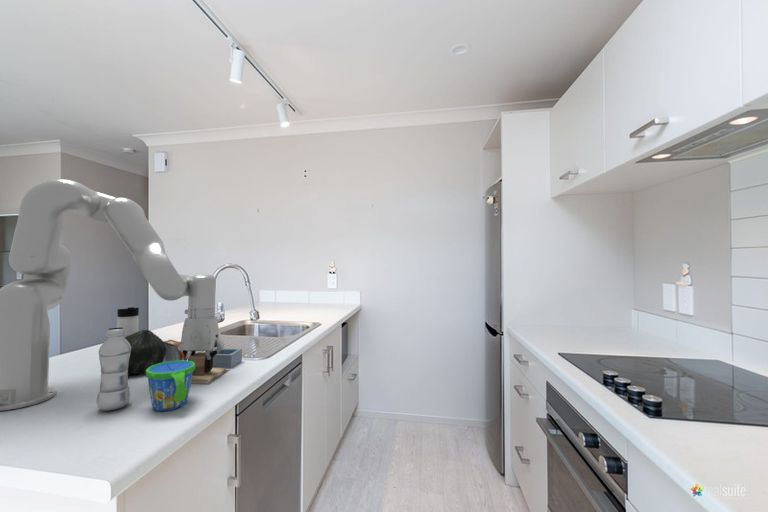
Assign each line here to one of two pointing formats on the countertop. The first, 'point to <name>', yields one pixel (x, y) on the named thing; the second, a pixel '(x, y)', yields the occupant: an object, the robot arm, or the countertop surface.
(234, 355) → the dish
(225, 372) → the mat
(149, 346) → the squash
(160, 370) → the snack cup
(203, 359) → the lid
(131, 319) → the travel mug
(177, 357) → the brown curved piece
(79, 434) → the countertop surface
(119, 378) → the plastic bottle
